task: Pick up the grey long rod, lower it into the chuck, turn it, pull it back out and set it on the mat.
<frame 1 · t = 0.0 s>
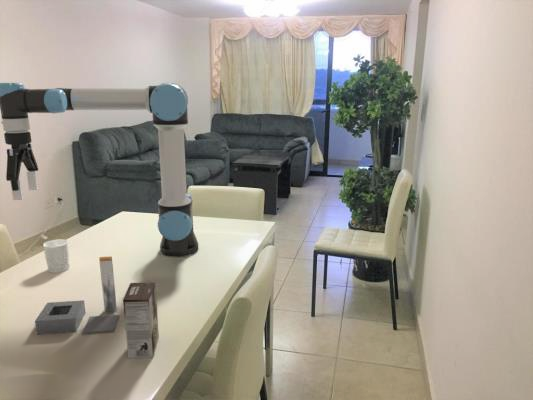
hand: (26, 194, 147), 28 cm above the table, fingers open, 13 cm apart
white cup: (59, 269, 156), on the table
mat: (101, 324, 120), on the table
grey long rod: (110, 310, 128), on the table
coffee box: (144, 348, 110), on the table
chuck: (62, 323, 121), on the table
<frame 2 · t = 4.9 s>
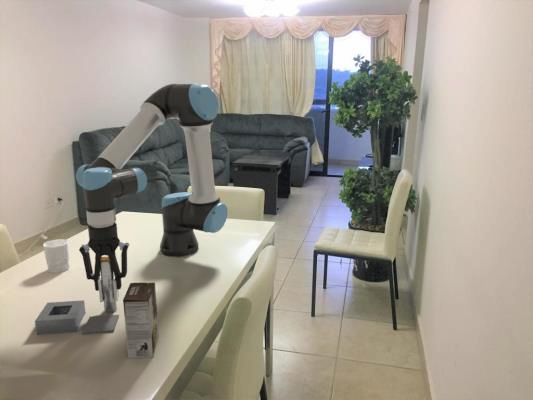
hand: (109, 299, 127), 4 cm above the table, fingers closed on grey long rod, 3 cm apart
grey long rod: (110, 310, 128), on the table, touching gripper
everything else where it was.
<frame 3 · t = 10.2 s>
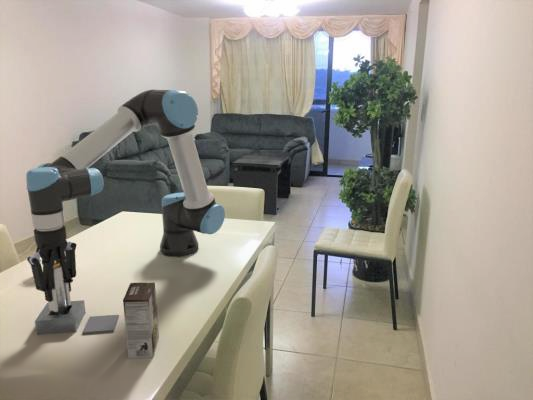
hand: (60, 306, 120), 5 cm above the table, fingers closed on grey long rod, 3 cm apart
grey long rod: (62, 319, 121), point 1 cm above the table, touching gripper
everything else where it was.
when the fingers open (5 cm above the table, at t = 15.8 s): grey long rod stays where it is, resting on mat.
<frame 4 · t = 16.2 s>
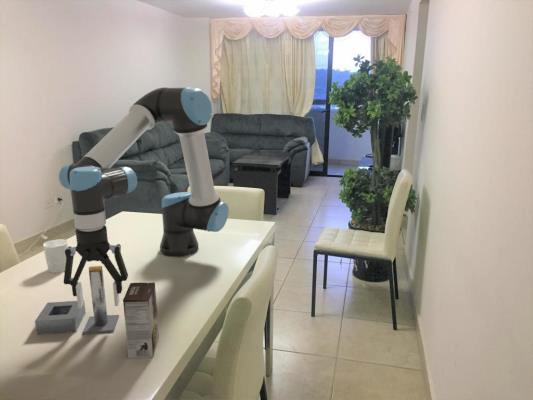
hand: (99, 304, 119), 6 cm above the table, fingers open, 9 cm apart
grey long rod: (101, 323, 120), point 1 cm above the table, touching mat
everything else where it was.
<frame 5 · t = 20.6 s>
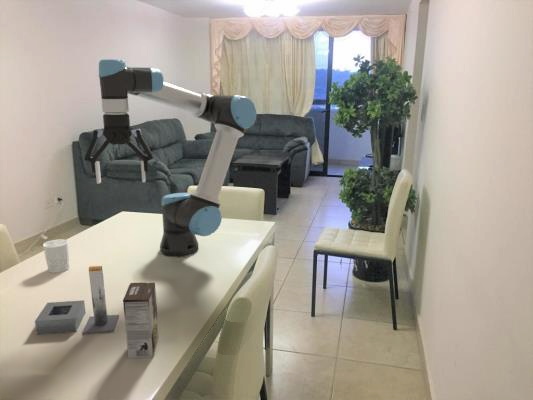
hand: (121, 182, 136), 35 cm above the table, fingers open, 13 cm apart
nothing on the table moved.
at the end: grey long rod inside the target area on the mat (0.0 cm from its centre), point 0.6 cm above the mat's base; grey long rod tilted 0°; the gripper is holding nothing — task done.
